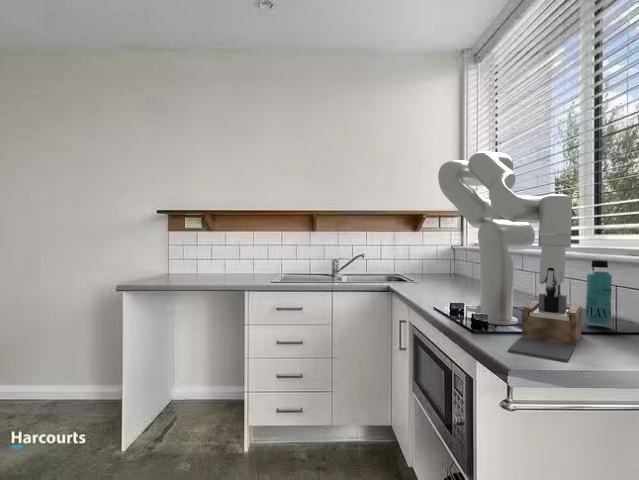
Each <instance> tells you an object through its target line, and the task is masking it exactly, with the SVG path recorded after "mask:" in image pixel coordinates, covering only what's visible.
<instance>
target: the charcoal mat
mask: <svg viewBox="0 0 639 480" xmlns="http://www.w3.org/2000/svg"><path fill="white" fill-rule="evenodd" d="M575 349H576V347H575V346H573V345H566V344H560V343H553V342H546V341H540V340H533V339H527V338H522V337H520V338H518V339H517V340H516V342H514V343H513V344H512V345H511V346H510V347H509V348H508V349H507V353H511V354H517V355H524V356H529V357H534V358H540V359H545V360H551V361H552V360H553V361H558V362H564V363H569V361H570V358H571V357H572V355H573V353H574V351H575Z"/></svg>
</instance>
